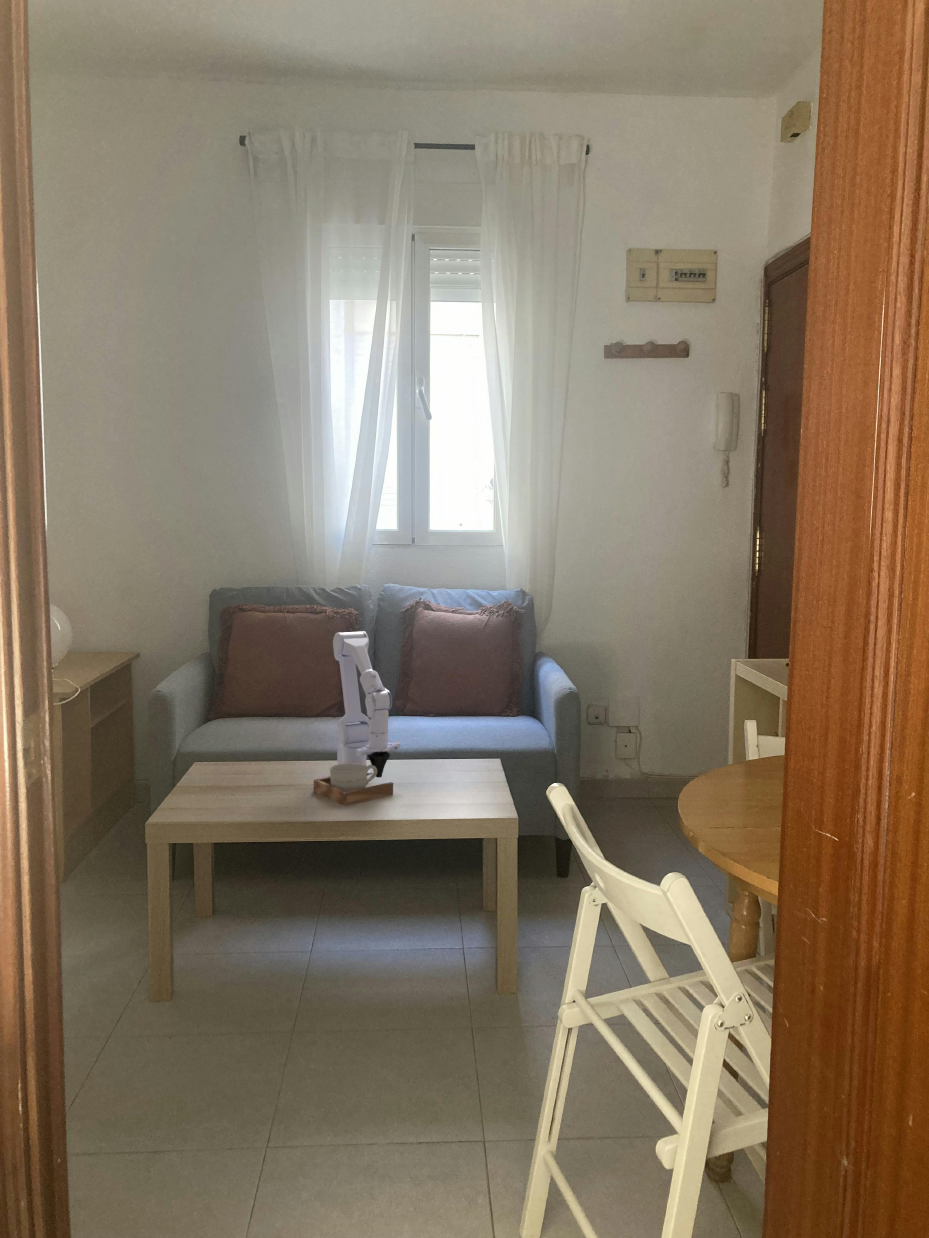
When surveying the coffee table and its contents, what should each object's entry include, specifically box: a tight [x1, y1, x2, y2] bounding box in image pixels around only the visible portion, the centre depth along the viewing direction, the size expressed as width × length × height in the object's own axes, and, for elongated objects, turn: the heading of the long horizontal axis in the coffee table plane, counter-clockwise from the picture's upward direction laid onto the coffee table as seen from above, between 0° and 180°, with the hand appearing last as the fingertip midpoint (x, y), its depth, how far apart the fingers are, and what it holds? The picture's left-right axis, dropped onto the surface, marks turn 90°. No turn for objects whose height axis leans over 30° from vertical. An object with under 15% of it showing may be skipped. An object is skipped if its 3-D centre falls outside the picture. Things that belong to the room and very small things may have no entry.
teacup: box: [329, 763, 377, 792], centre depth 272 cm, size 14×11×8 cm
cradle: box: [313, 776, 394, 807], centre depth 272 cm, size 16×17×4 cm
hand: (378, 776), depth 278 cm, fingers closed
